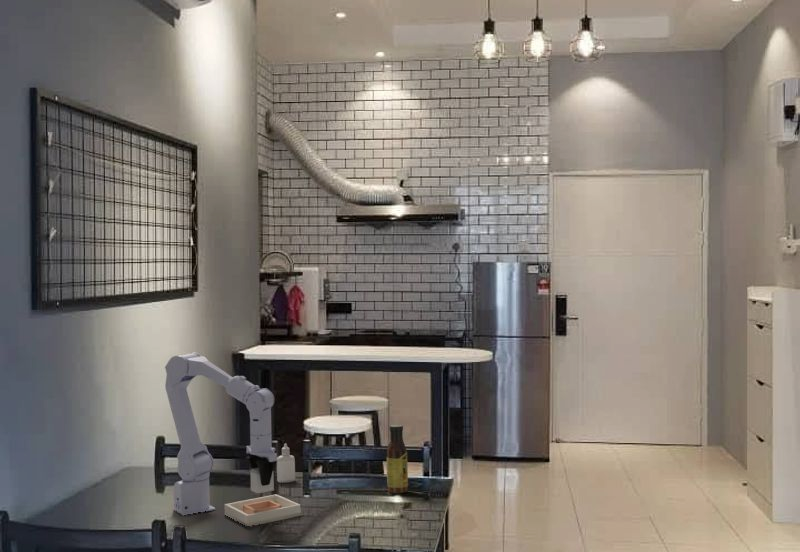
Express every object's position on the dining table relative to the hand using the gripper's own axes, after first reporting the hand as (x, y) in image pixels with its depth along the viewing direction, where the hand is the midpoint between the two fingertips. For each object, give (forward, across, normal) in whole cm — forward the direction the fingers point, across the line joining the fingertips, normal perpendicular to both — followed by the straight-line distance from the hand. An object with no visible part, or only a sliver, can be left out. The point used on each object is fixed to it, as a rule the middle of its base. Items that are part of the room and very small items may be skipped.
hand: (261, 483), depth 230 cm
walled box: (+9, 0, 0) cm, 9 cm away
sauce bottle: (+9, -4, -43) cm, 44 cm away
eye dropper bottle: (+9, +29, -23) cm, 38 cm away
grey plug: (+2, 0, 0) cm, 2 cm away
